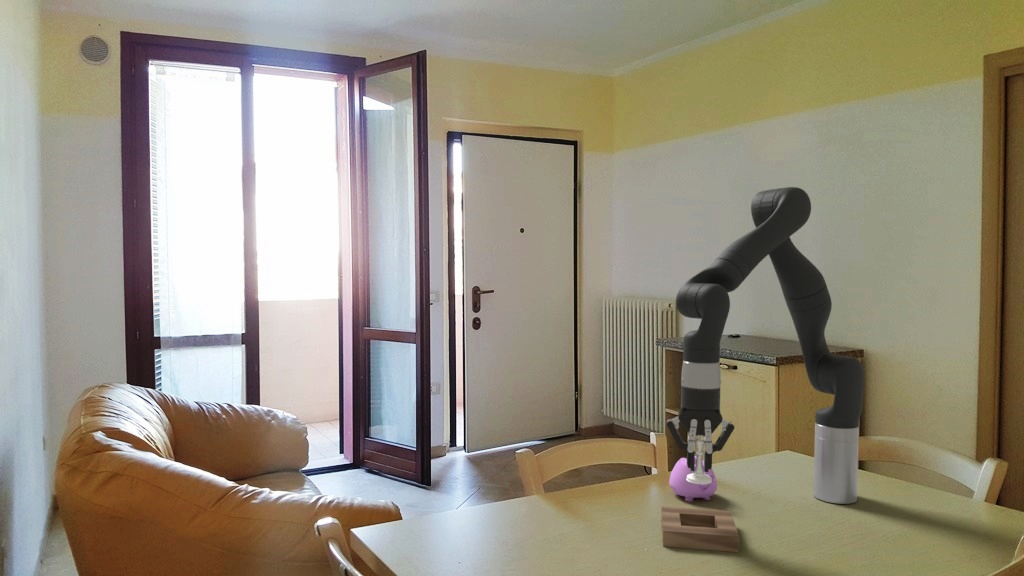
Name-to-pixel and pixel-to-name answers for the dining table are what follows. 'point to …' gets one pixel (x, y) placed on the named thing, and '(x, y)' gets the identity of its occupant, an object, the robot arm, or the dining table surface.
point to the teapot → (691, 489)
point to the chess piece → (699, 465)
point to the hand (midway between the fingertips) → (699, 470)
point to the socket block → (699, 529)
